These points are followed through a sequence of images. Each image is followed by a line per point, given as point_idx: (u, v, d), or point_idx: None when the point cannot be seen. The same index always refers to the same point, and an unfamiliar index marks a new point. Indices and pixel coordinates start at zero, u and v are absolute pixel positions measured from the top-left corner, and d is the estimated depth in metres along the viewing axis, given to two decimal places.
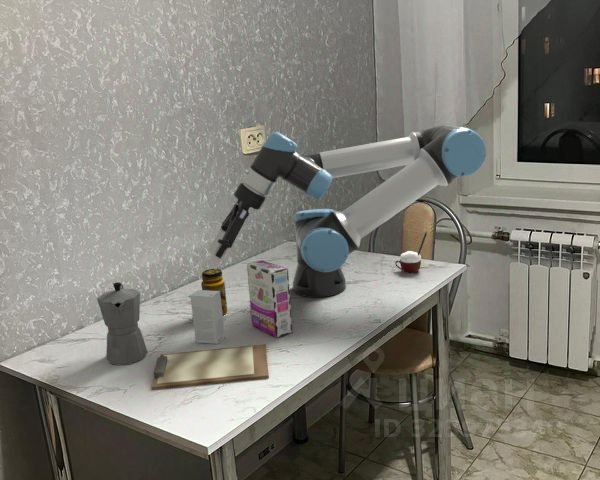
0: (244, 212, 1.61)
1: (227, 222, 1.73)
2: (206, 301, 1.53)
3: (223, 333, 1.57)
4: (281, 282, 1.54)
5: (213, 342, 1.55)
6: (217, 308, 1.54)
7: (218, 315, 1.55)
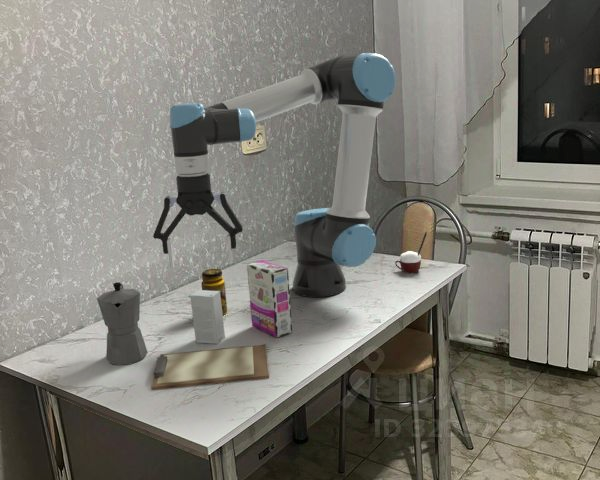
0: (224, 194, 1.50)
1: None
2: (206, 301, 1.53)
3: (223, 333, 1.57)
4: (281, 282, 1.54)
5: (213, 342, 1.55)
6: (217, 308, 1.54)
7: (218, 315, 1.55)
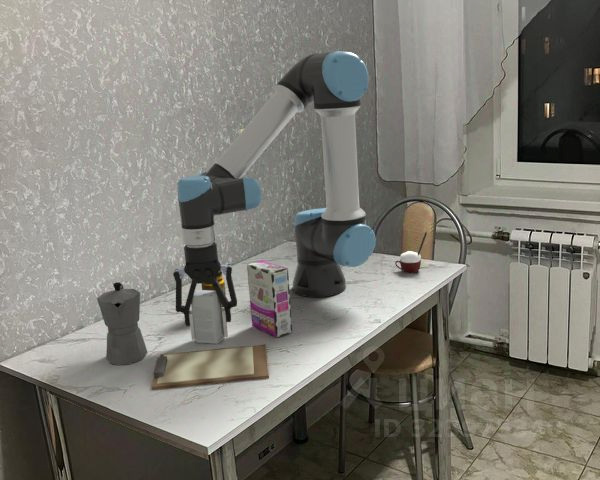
0: (231, 267, 1.54)
1: (192, 298, 1.54)
2: (206, 300, 1.53)
3: (223, 333, 1.57)
4: (281, 282, 1.54)
5: (213, 342, 1.55)
6: (217, 308, 1.54)
7: (218, 315, 1.55)
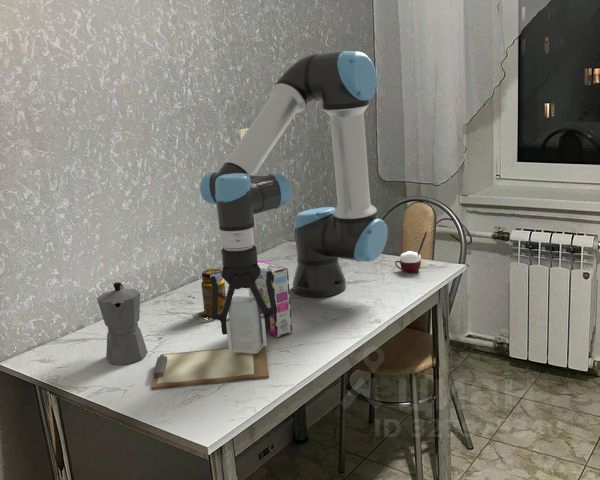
0: None
1: None
2: (245, 307, 1.42)
3: (261, 342, 1.47)
4: (281, 282, 1.54)
5: (252, 352, 1.45)
6: (256, 315, 1.44)
7: (257, 323, 1.44)
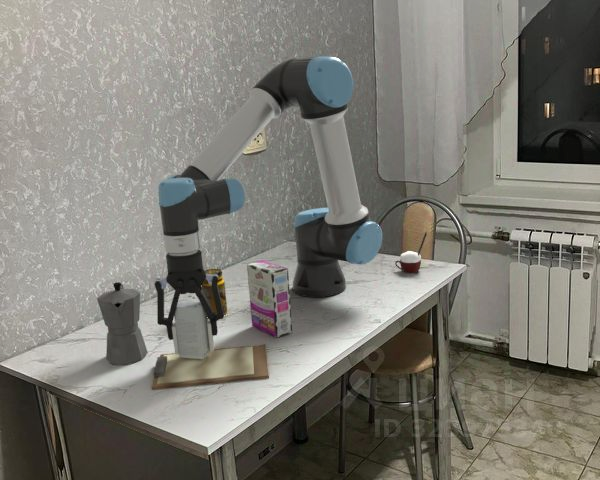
0: (217, 277, 1.43)
1: (175, 310, 1.43)
2: (190, 313, 1.41)
3: (208, 347, 1.46)
4: (281, 282, 1.54)
5: (198, 357, 1.44)
6: (202, 321, 1.43)
7: (203, 328, 1.43)
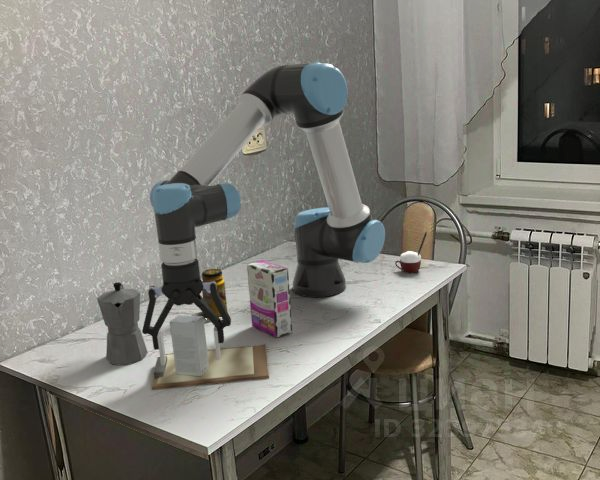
0: (215, 283, 1.36)
1: (164, 320, 1.36)
2: (188, 328, 1.35)
3: (207, 363, 1.40)
4: (281, 282, 1.54)
5: (196, 374, 1.37)
6: (200, 336, 1.37)
7: (201, 344, 1.37)
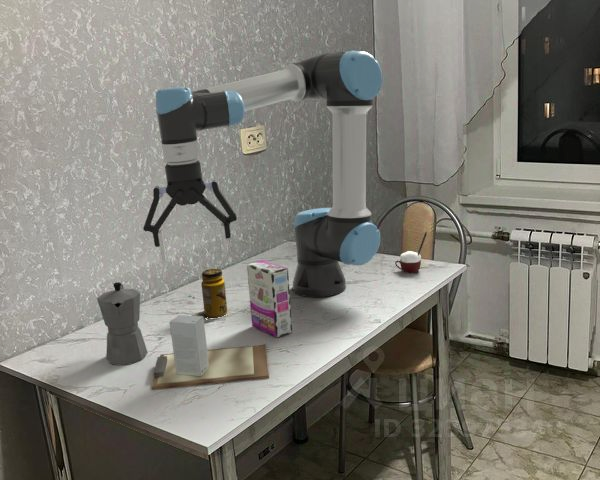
0: (216, 182, 1.43)
1: None
2: (188, 328, 1.35)
3: (207, 363, 1.40)
4: (281, 282, 1.54)
5: (196, 374, 1.37)
6: (200, 336, 1.37)
7: (201, 344, 1.37)
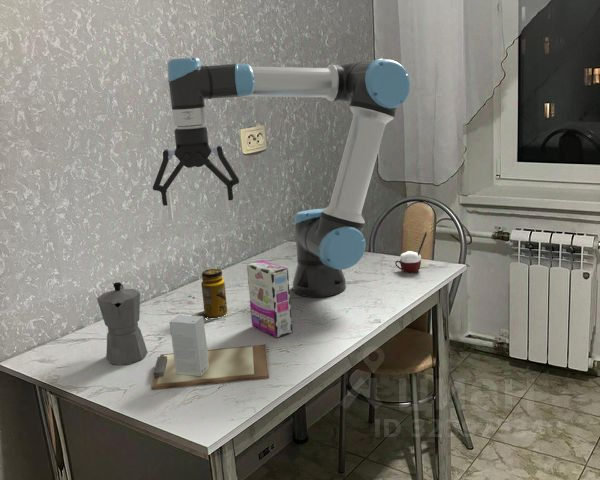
0: (221, 147, 1.55)
1: (173, 179, 1.55)
2: (188, 328, 1.35)
3: (207, 363, 1.40)
4: (281, 282, 1.54)
5: (196, 374, 1.37)
6: (200, 336, 1.37)
7: (201, 344, 1.37)
